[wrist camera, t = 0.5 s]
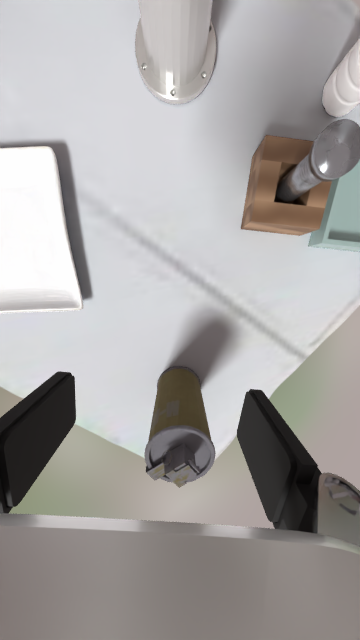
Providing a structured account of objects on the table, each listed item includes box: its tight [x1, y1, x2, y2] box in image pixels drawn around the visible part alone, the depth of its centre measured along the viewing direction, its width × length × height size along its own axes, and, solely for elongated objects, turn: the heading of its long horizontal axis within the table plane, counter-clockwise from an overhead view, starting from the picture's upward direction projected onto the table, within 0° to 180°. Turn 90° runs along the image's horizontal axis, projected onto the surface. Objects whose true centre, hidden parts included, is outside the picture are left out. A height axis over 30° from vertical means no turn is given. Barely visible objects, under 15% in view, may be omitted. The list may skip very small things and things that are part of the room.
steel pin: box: [274, 119, 360, 204], centre depth 26 cm, size 6×6×12 cm
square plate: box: [0, 146, 83, 314], centre depth 33 cm, size 27×27×4 cm
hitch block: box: [241, 135, 332, 236], centre depth 31 cm, size 12×12×5 cm
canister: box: [145, 367, 215, 487], centre depth 33 cm, size 11×10×20 cm
